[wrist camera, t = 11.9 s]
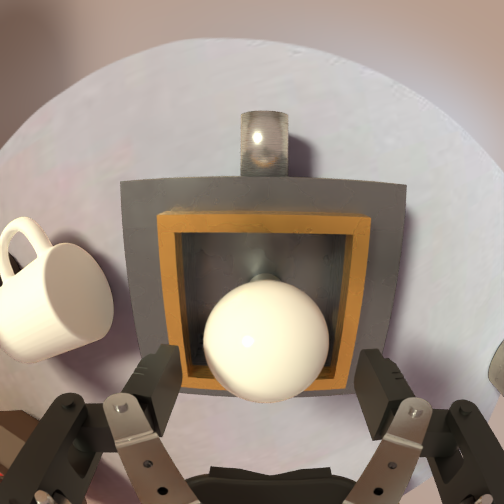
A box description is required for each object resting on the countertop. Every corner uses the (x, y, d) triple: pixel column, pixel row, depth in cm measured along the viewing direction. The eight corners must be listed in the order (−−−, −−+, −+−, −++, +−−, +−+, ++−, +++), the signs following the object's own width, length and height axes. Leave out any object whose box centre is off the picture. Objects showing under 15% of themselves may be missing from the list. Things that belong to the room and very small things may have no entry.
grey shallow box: (381, 131, 20) (417, 120, 14) (357, 361, 25) (376, 403, 19) (145, 128, 20) (109, 116, 15) (163, 358, 26) (143, 400, 20)
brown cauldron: (-8, 358, 28) (-71, 418, 12) (121, 459, 31) (85, 546, 15) (-7, 421, 33) (-44, 467, 18) (87, 492, 36) (63, 548, 21)
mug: (126, 312, 25) (84, 361, 17) (61, 339, 26) (20, 379, 18) (67, 191, 22) (4, 203, 14) (10, 239, 23) (-43, 260, 16)
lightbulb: (309, 246, 21) (352, 312, 11) (304, 325, 23) (329, 426, 12) (221, 245, 22) (184, 310, 11) (224, 324, 23) (199, 425, 13)
